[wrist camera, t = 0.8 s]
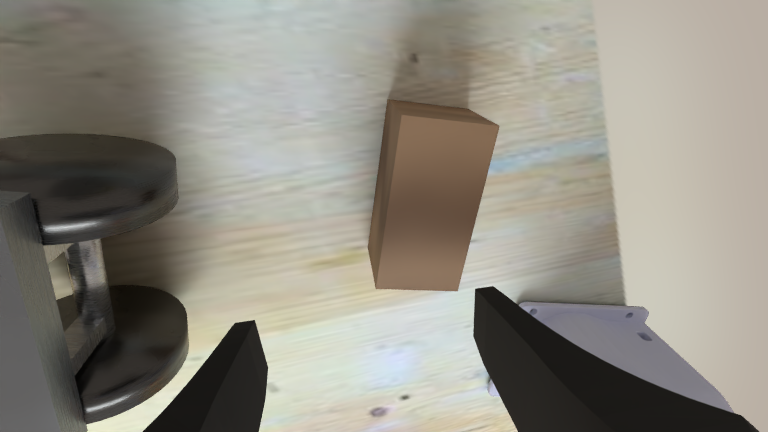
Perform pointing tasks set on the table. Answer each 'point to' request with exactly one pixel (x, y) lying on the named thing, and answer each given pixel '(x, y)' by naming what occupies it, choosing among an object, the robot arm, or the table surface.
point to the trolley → (80, 281)
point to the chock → (427, 194)
